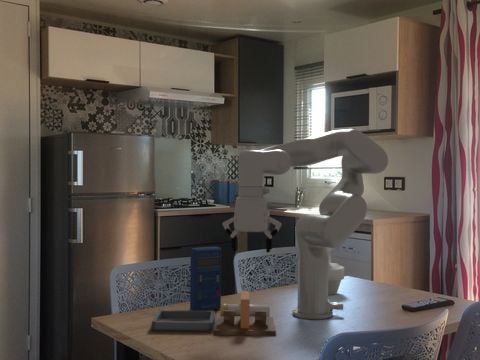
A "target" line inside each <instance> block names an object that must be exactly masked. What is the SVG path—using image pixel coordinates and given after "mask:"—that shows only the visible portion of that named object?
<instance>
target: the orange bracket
mask: <svg viewBox="0 0 480 360" xmlns="http://www.w3.org/2000/svg"><path fill="white" fill-rule="evenodd" d="M250 300H251V299H250V291H249V290H240V304H241V316H240V317H241V328H249V308H250Z"/></svg>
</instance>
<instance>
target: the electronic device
mask: <svg viewBox="0 0 480 360" xmlns="http://www.w3.org/2000/svg"><path fill="white" fill-rule="evenodd" d="M189 264H190V270H189V271H190V274H189V275H190V279H189V281H190V282H189V283H190V285H189V286H190V288H189V289H190V292H189V310H194V311H215V310H220V307H221V304H222V293H221V292H222V247H219V246H216V245H215V246H204V247H201V246H200V247H191V248H190V263H189Z"/></svg>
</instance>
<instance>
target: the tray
mask: <svg viewBox="0 0 480 360" xmlns="http://www.w3.org/2000/svg"><path fill="white" fill-rule="evenodd" d="M215 321H216V311H215V310H208V311H194V310H190V309H189V310H188V309H187V310H183V309H182V310H181V309H180V310H178V309H177V310H176V309H175V310H174V309H173V310H172V309H169V310H168V309H162V310H161V309H159V310H158V311H157V312H156V314H155V315H154V317H153V319H152V321H151V332H172V333H173V332H174V333H175V332H180V333H183V332H185V333H186V332H187V333H188V332H189V333H191V332H192V333H214V327H215Z"/></svg>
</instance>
